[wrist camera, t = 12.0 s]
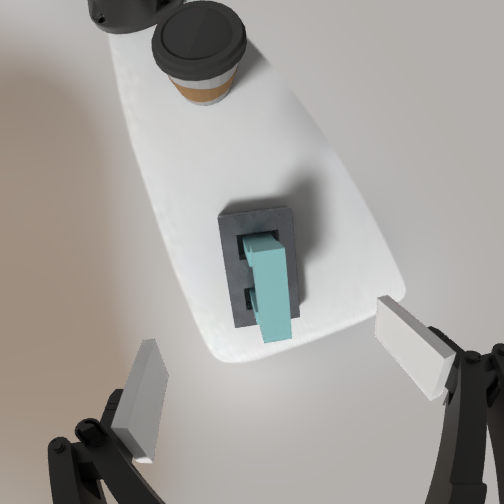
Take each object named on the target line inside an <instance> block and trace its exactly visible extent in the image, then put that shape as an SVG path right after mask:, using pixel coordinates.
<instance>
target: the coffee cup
mask: <svg viewBox="0 0 504 504" xmlns="http://www.w3.org/2000/svg"><path fill="white" fill-rule="evenodd" d="M246 43H247V40H246V31H245V26H244V24H243V23H242V21H241V19H240V18H239V17H238V15H237V14H236V13H235V12H234V11H233V10H232V9H231V8H229V7H227V6H225V5H223V4H221V3H217V2H214V1H193V2H188V3H185V4H182V5H179V6H177V7H176V8H174V9H172V10H170V11H169V12H168V13H167V14H166V15H165V16H163V17H162V18H161V20H160V21H159V23H158V24H157V26H156V29H155V31H154V34H153V38H152V52H153V56H154V59H155V61H156V64H157V65H158V66H159V67H160V69H161V70H162V71H163V72H165V73H166V74H167V75H168V77H169V79H170V80H171V81H172V83H173V84H174V85H175V86H176V88H177V89H178V90H179V92H180V93H181V94H182V95H183V96H184V97H185V98H186V99H187V100H188V101H189V102H191V103H193V104H196V105H200V106H208V105H212V104H215V103H217V102H219V101H220V100H222V99H223V98H224V97H225V96H226V95H227V93H228V91H229V89H230V86H231V84H232V82H233V79H234V76H235V73H236V71H237V67H238V63H239V61H240V59H241V58H242V56H243V54H244V52H245V48H246Z"/></svg>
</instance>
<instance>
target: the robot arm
mask: <svg viewBox="0 0 504 504" xmlns="http://www.w3.org/2000/svg"><path fill="white" fill-rule="evenodd" d="M182 2H183V0H88V7H89V14H90V17H91V19H92V21H93V22H94V23H95V24H96V25H97V27H98V28H100V29H101V30H103V31H105V32H107V33H112V34H127V33H132V32H137V31H140V30H143V29H146V28H148V27H151V26H153V25H155V24H157V23H159V21H160V20H161V18H162V17H163V16H165V15H166V14H167V13H168V12H169V11H170V10H172V9H174V8H176V7H177V6H179V5H181V3H182ZM374 335H375V336H376V338H377V339H378V340H379V341H380V342H381V344H382V345H383V346H384V347H385V348H386V349H387V350H388V351H389V353H390V354H391V355H392V356H393V357H394V358H395V360H396V361H397V362H398V363H399V364H400V365H401V367H402V368H403V369H404V370H405V371H406V372H407V374H408V375H409V376H410V377H411V378H412V379H413V381H414V382H415V383H416V384H417V385H418V387H419V388H420V389H421V390H422V391H423V393H424V394H425V395H426V396H427V398H428V399H429V400H430V401H431V400H433V399H435V398H437V397H439V396H440V395H441V394H442V392H443V390H444V387H446V388H447V389H448V390H449V391H448V393H447V396H446V398H445V400H444V403H443V405H445V403H446V408H445V417H444V423H443V431H442V437H441V443H440V447H439V452H438V457H437V461H436V466H435V470H434V474H433V478H432V481H431V485H430V489H429V492H428V495H427V499H426V502H425V504H484V503H485V498H486V492H487V485H486V484H485V483H483V482H482V477H483V470H484V461H485V450H486V431H487V425H488V429H489V434H490V438H491V443H492V448H493V454H494V460H495V466H496V474H497V482H498V491H499V502H500V504H504V344H502V343H499V344H495V345H494V346H493V349H492V352H491V353H489V354H485V355H481V354H480V353H478V352H475V351H466V352H465V351H464V350H463V349H461V348H460V347H459V346H458V345H457V344H456V343H454V342H453V341H452V340H451V339H449V338H448V337H447V336H446V335H444V333H442V332H441V331H440V330H438V329H436V328H434V327H432V326H430V327H426V326H425V325H423V324H422V323H421V322H420V321H419V320H417V319H416V318H415V317H414V316H413V315H411V314H410V313H409V312H408V311H407V310H405V309H404V308H403V307H402V306H400V305H399V304H398V303H397V302H396V301H394V300H393V299H392V298H391V297H389V296H388V295H386V296H382V297H378V298H377V309H376V322H375V334H374ZM167 381H168V372H167V370H166V367H165V365H164V362H163V360H162V357H161V355H160V352H159V349H158V346H157V343H156V341H155V339H150V340H143V341H142V343H141V346H140V348H139V351H138V353H137V356H136V358H135V361H134V363H133V366H132V369H131V372H130V374H129V377H128V380H127V382H126V385H125V388H124V389H116V390H115V391H114V392H113V393H112V394H111V395H110V397H109V399H108V402H107V405H106V407H105V410H104V412H103V415H102V418H101V421H100V422H99V421H98V420H96V419H94V418H88V419H84V420H82V421H81V422H79V423H78V424H77V426H76V428H75V435H76V436H77V438H78V439H79V440H80V441H81V442H77V443H70V441H68V440H67V438H64V437H57V438H55V439H53V440H52V441H51V442H50V443H49V445H48V464H49V475H50V484H51V492H52V499H53V504H107V502H106V499H105V496H104V492H103V489H102V485H101V482H100V479H103V480H104V482H105V484H106V485H107V487H108V488H109V490H110V492H111V493H112V495H113V496H114V498H115V499H116V501H117V502H118V504H165V502H164V501H162V499H161V498H160V497H159V496H158V495H157V494H156V492H155V491H154V490H153V489H152V488H151V487H150V485H149V484H148V483H147V482H146V480H145V479H144V478H143V477H142V475H141V474H140V473H139V472H138V470H137V469H136V468H135V466H134V465H133V464H132V458H133V457H134V458H135V459H136V461H137V462H139V463H153V461H154V455H155V448H156V442H157V435H158V430H159V423H160V418H161V412H162V407H163V402H164V396H165V391H166V386H167Z"/></svg>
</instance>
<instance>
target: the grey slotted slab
mask: <svg viewBox="0 0 504 504" xmlns="http://www.w3.org/2000/svg"><path fill="white" fill-rule="evenodd" d="M218 224H219V230H220V237H221V244H222V250H223V257H224V263H225V269H226V276H227V282H228V288H229V294H230V300H231V306H232V312H233V318H234V323H235V328H239V327H245V326H252V325H257V322H256V318H255V314H254V310H253V306H252V302H246V301H245V294H244V288H251V287H255V282H254V275H253V267H249V263H248V260H247V257H246V254H242V255H239V252H238V245H237V238H236V235H241V234H248V233H255V232H263V231H270V230H275V235H276V241H279V242H280V243H281V244H282V246H283V247H284V248H285V256H286V267H287V279H288V291H289V303H290V317H291V319H293V318H298V317H300V311H299V295H298V280H297V266H296V254H295V242H294V230H293V220H292V209H291V208H290V207H287V206H284V207H276V208H268V209H260V210H253V211H245V212H238V213H231V214H224V215H218Z"/></svg>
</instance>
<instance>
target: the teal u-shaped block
mask: <svg viewBox="0 0 504 504" xmlns="http://www.w3.org/2000/svg"><path fill="white" fill-rule="evenodd" d="M242 240H243V248H244V251H245V254H246V257H247V260H248V263H249V267H253V275H254V282H255V287H251V288H249V292H250V298H251V302H252V306H253V310H254V314H255V318H256V322H257V325H258V324H260V329H261V333H262V337H263V340H264V343H269V342H275V341H280V340H286V339H291V338H292V331H291V317H290V303H289V291H288V279H287V267H286V256H285V248H284V247H283V246H282V244H281V243H280V242H279V241H276V240H275V239H274V238H273V237H272V235H271V234H270V233H264V234H257V235H250V236H243V237H242Z"/></svg>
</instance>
